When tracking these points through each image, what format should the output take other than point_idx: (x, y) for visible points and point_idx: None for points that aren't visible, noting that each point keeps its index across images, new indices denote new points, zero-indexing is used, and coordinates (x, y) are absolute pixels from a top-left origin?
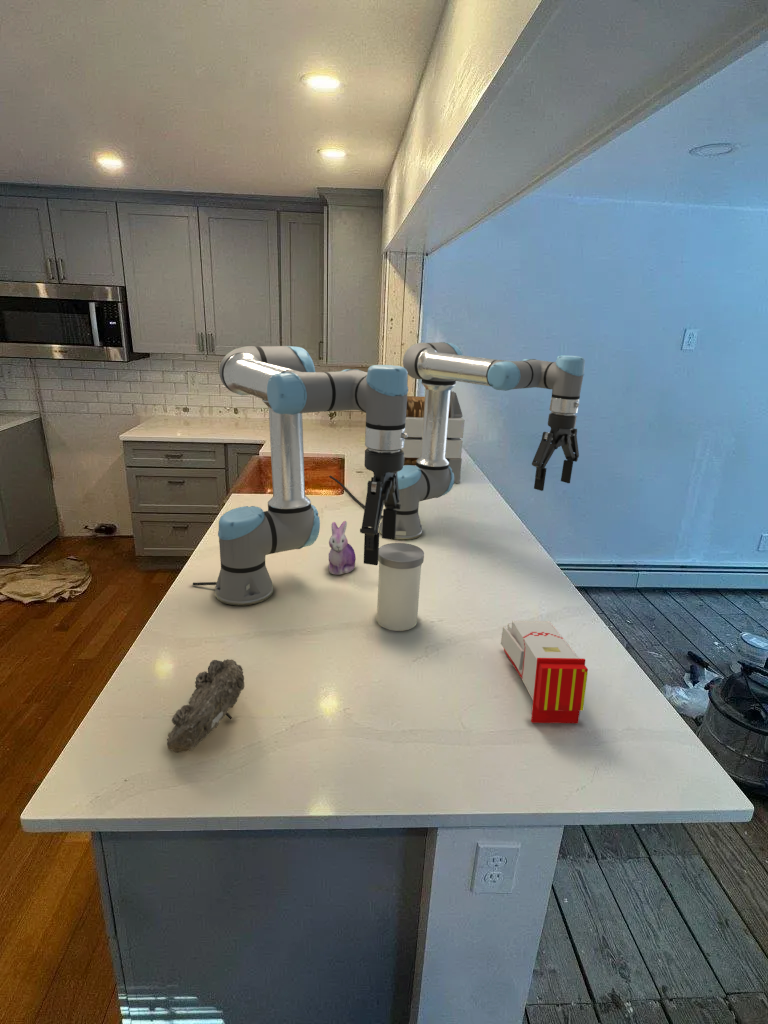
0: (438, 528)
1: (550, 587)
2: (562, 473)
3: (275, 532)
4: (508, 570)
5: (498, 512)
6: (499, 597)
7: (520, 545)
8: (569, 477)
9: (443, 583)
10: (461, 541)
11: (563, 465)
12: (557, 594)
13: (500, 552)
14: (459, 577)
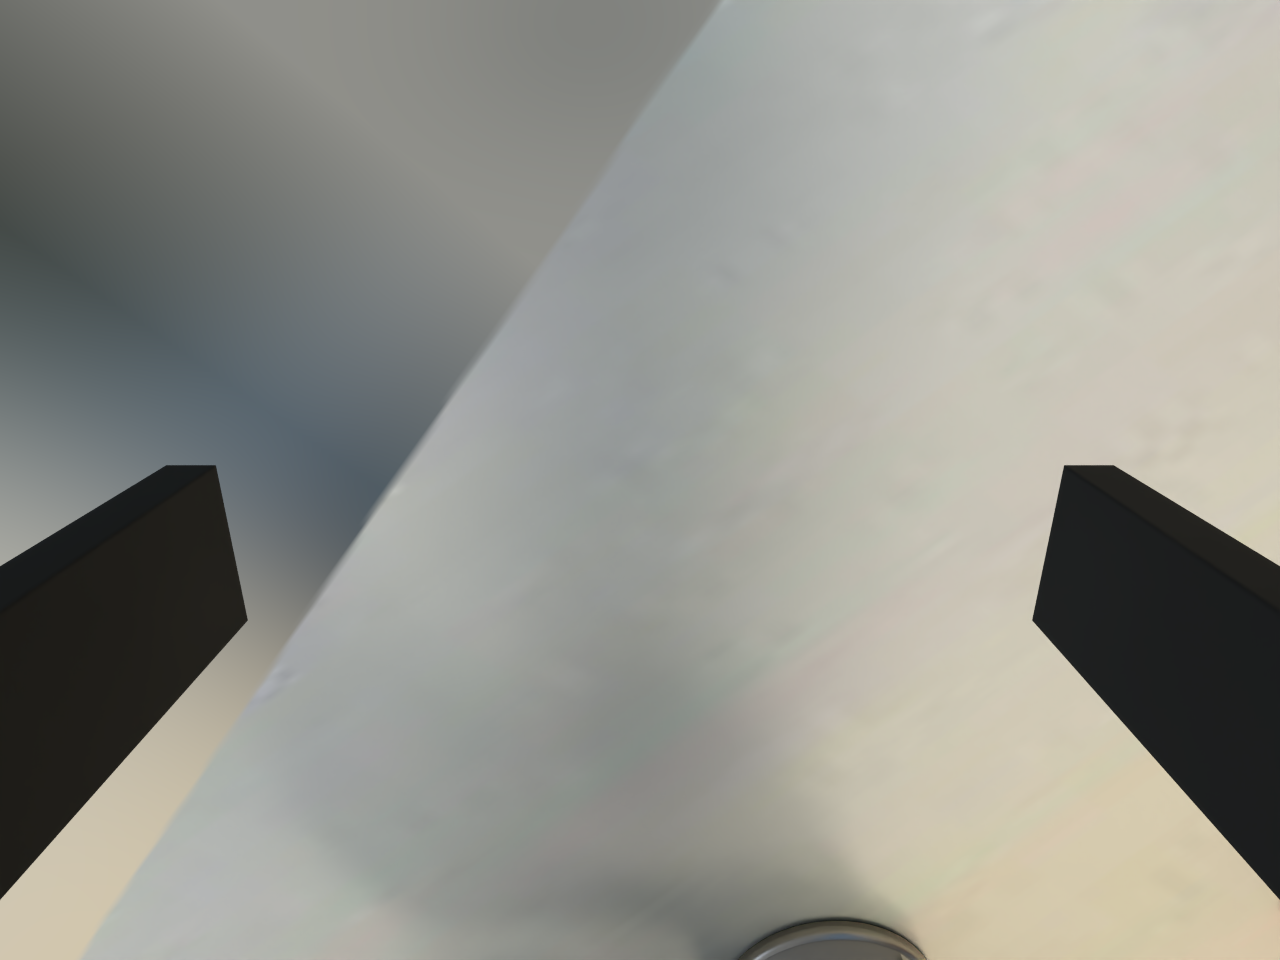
0: (627, 944)
1: (768, 117)
2: (159, 702)
3: None
4: (768, 424)
5: (149, 928)
6: (1123, 234)
7: (411, 594)
8: (142, 514)
9: None
10: (661, 793)
11: (28, 853)
12: (821, 22)
13: (598, 598)
14: None
